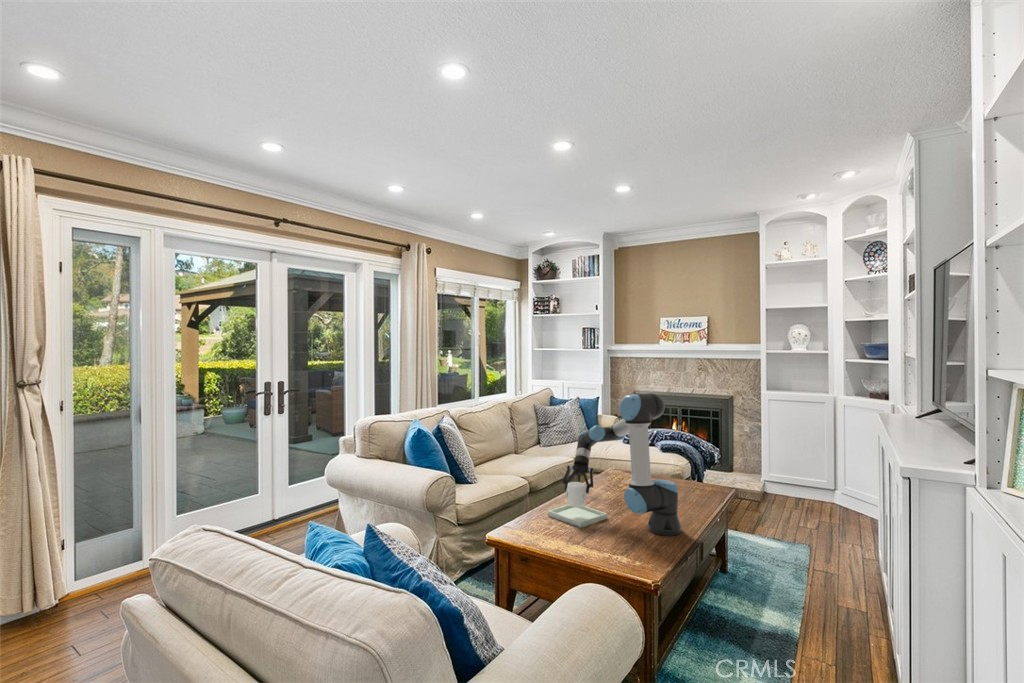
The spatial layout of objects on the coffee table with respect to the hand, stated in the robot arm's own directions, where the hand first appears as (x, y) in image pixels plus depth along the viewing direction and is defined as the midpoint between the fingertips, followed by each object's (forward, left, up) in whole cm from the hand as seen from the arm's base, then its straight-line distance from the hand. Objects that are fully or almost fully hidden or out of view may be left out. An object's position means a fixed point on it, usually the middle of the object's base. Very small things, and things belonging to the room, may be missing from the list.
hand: (575, 497), depth 254 cm
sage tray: (+1, -3, -11) cm, 11 cm away
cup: (+2, -3, -4) cm, 5 cm away
